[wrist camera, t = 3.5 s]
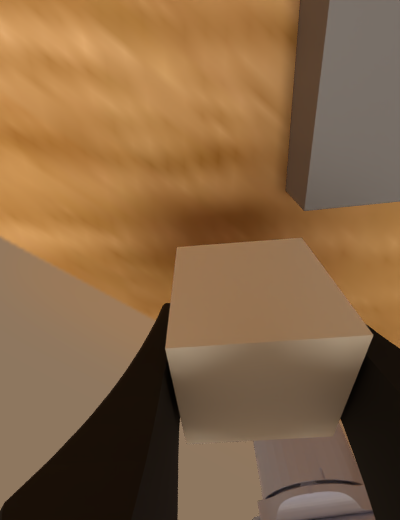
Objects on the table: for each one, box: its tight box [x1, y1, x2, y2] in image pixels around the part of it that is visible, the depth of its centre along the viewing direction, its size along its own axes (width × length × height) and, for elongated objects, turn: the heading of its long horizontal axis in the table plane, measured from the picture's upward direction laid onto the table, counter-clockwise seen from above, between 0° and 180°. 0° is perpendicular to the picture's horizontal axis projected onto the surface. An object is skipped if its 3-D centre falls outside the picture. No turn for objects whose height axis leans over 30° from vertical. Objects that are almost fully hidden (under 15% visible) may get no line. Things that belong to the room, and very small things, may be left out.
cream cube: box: [165, 238, 373, 444], centre depth 10 cm, size 5×5×5 cm
